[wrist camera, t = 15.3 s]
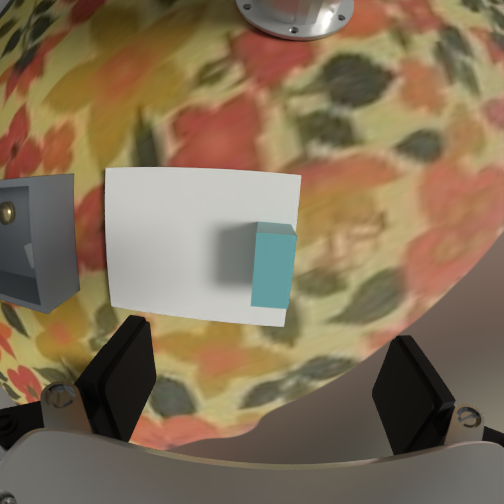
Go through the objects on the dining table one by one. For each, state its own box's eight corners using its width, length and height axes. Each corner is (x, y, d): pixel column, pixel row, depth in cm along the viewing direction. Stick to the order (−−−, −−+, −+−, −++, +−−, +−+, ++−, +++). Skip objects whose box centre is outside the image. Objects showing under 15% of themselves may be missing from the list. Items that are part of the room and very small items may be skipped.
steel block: (31, 243, 29) (23, 246, 27) (39, 238, 29) (32, 241, 27) (38, 265, 30) (31, 268, 28) (47, 261, 29) (40, 265, 28)
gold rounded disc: (3, 201, 27) (-3, 202, 26) (15, 201, 27) (9, 202, 26) (4, 222, 28) (-2, 224, 27) (16, 223, 28) (10, 225, 27)
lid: (114, 167, 27) (77, 168, 21) (298, 175, 27) (309, 175, 20) (119, 299, 31) (89, 327, 25) (282, 317, 31) (286, 354, 24)
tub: (-9, 180, 28) (-43, 186, 21) (74, 173, 27) (34, 177, 20) (-2, 272, 31) (-31, 287, 24) (80, 289, 31) (47, 313, 24)
